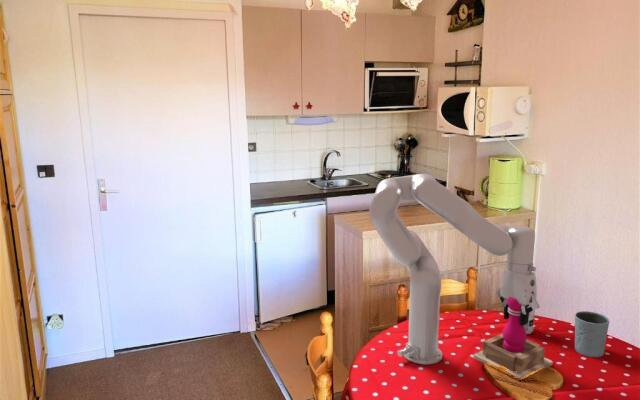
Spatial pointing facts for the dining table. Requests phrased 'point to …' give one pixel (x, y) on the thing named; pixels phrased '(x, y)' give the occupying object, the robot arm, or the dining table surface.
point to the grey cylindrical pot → (590, 333)
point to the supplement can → (530, 322)
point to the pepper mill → (514, 328)
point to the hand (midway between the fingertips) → (515, 320)
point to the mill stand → (513, 356)
